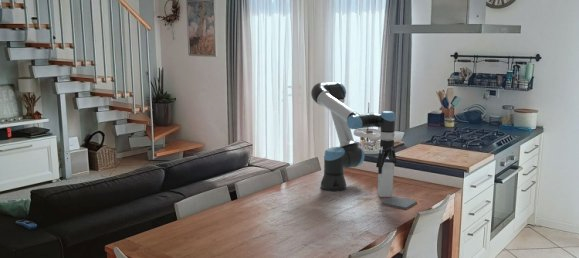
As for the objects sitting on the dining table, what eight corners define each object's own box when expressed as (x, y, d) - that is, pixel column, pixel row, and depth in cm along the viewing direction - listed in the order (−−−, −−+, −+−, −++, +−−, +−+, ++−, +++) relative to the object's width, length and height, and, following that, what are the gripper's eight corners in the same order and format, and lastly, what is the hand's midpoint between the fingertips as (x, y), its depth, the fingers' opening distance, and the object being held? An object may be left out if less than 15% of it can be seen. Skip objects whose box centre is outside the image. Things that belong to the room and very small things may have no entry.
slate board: (381, 204, 278) (381, 202, 278) (393, 198, 289) (393, 196, 289) (405, 209, 270) (405, 207, 270) (416, 203, 281) (416, 201, 281)
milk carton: (392, 197, 291) (393, 164, 288) (379, 197, 291) (380, 164, 288) (390, 193, 298) (391, 161, 295) (377, 193, 298) (378, 161, 295)
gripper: (383, 143, 277) (381, 182, 280) (403, 136, 297) (402, 173, 300) (370, 141, 281) (369, 180, 285) (391, 135, 301) (390, 171, 304)
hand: (386, 176), depth 292 cm, fingers open, 13 cm apart
